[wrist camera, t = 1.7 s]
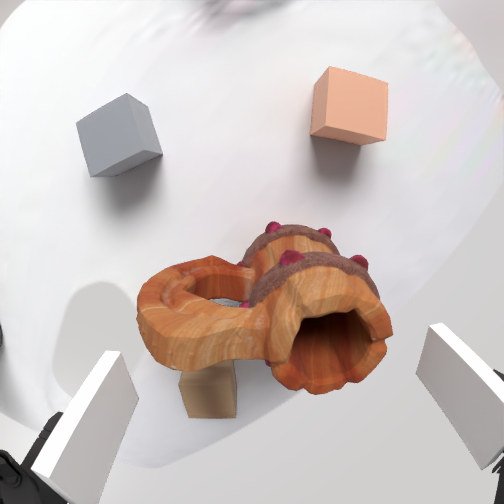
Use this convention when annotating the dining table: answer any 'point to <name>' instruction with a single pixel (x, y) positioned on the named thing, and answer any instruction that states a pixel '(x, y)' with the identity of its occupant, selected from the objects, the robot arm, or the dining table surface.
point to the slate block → (118, 137)
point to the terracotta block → (349, 107)
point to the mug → (270, 311)
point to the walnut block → (210, 391)
